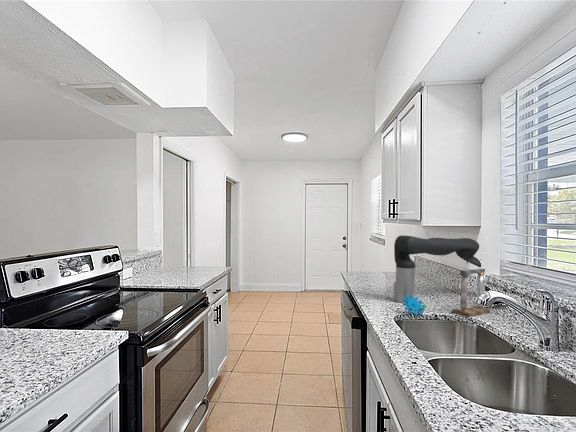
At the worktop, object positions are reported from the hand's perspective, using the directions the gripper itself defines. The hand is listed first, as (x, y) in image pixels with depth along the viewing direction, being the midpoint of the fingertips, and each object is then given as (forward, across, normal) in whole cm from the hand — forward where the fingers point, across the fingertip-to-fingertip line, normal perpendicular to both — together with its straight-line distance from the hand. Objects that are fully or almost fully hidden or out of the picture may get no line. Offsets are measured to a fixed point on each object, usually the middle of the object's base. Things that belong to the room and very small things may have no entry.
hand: (486, 291), depth 176 cm
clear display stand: (+13, 0, +9) cm, 16 cm away
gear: (+38, -11, +9) cm, 40 cm away
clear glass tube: (+6, 0, +7) cm, 9 cm away
